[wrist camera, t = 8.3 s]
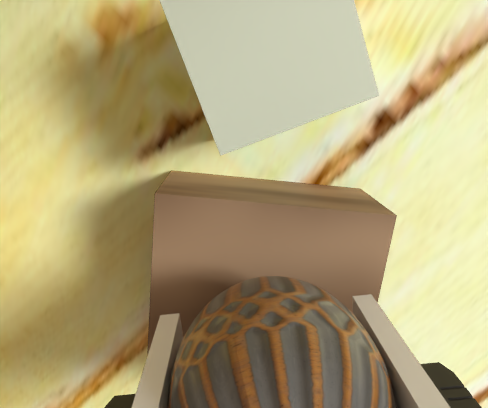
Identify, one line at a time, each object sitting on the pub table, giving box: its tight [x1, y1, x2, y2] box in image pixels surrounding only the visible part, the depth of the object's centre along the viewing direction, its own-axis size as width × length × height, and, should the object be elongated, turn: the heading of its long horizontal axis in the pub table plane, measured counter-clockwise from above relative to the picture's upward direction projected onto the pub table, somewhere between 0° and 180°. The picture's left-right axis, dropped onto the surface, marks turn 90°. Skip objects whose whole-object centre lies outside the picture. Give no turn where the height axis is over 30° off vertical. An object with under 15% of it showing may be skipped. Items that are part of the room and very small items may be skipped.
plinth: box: [147, 171, 397, 356], centre depth 20 cm, size 10×10×5 cm
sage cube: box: [160, 0, 379, 155], centre depth 16 cm, size 6×6×6 cm
